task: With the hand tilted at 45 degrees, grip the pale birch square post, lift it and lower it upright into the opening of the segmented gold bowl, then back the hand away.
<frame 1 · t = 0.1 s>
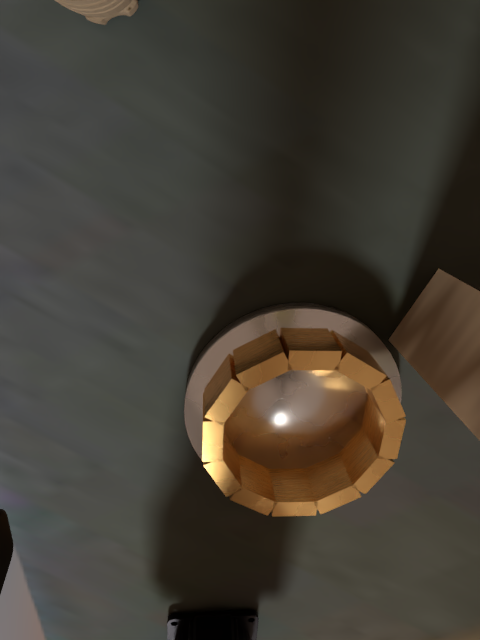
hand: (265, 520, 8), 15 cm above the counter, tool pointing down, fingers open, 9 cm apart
segmented gold bowl: (290, 401, 24), on the counter
post: (445, 322, 23), on the counter
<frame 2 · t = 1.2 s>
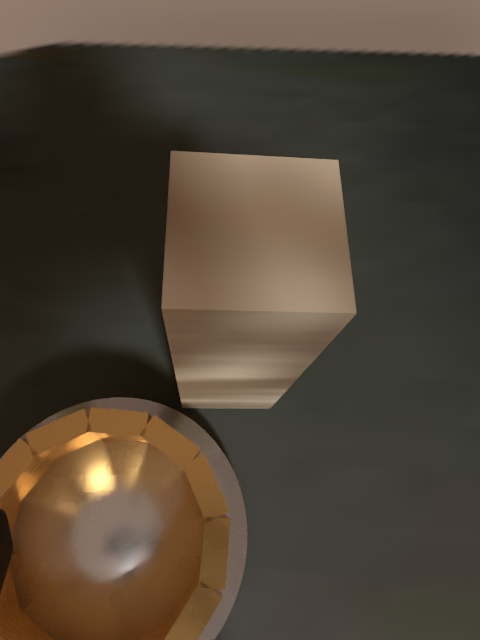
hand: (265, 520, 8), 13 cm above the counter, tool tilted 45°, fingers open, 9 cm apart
segmented gold bowl: (113, 533, 19), on the counter
post: (226, 365, 23), on the counter
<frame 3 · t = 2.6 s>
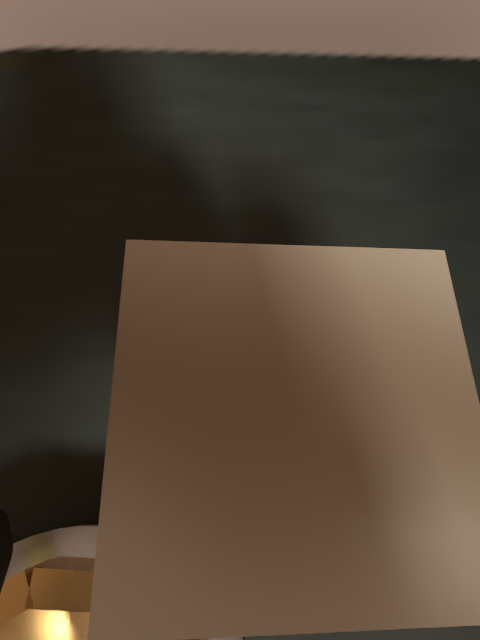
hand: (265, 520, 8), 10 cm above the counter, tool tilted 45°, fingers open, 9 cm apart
post: (229, 467, 17), on the counter
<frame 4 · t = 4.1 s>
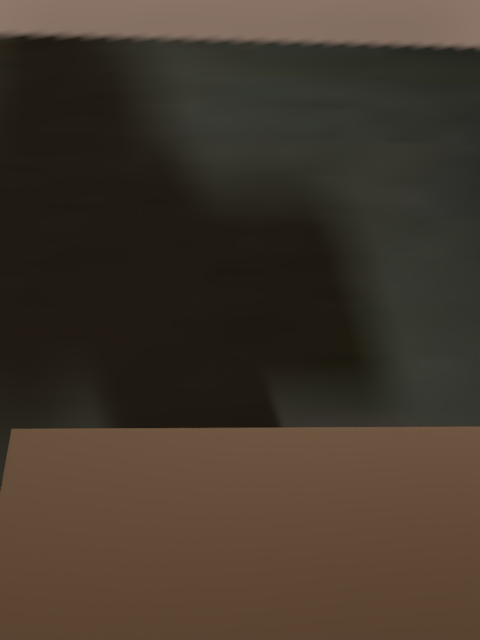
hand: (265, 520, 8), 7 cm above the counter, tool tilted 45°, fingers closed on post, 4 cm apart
post: (235, 553, 14), on the counter, touching gripper
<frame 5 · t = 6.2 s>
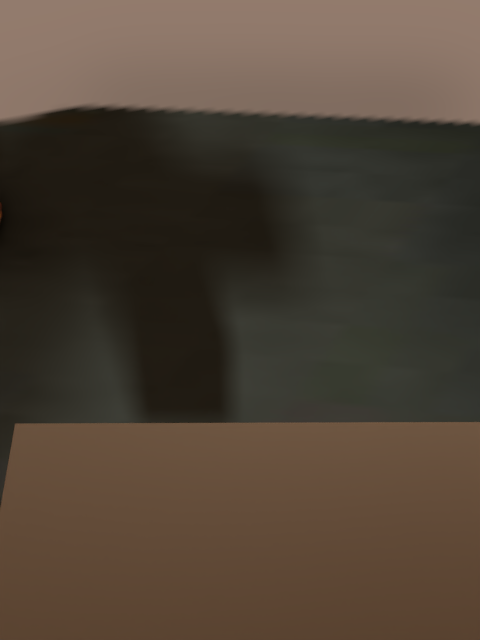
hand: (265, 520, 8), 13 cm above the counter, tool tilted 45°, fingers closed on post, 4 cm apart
post: (235, 552, 14), point 6 cm above the counter, touching gripper
when the fingers open (9 cm above the counter, at t = 8.6 s): post stays where it is, resting on segmented gold bowl.
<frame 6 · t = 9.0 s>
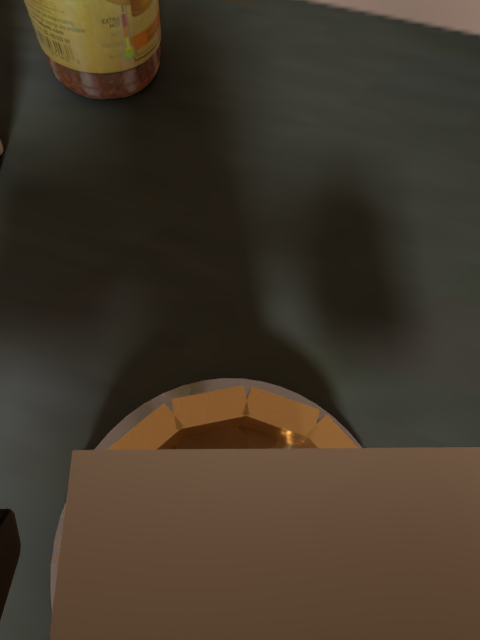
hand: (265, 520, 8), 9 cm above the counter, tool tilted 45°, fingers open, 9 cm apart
segmented gold bowl: (230, 545, 16), on the counter
post: (232, 549, 15), point 1 cm above the counter, touching segmented gold bowl
sauce bottle: (108, 67, 24), on the counter
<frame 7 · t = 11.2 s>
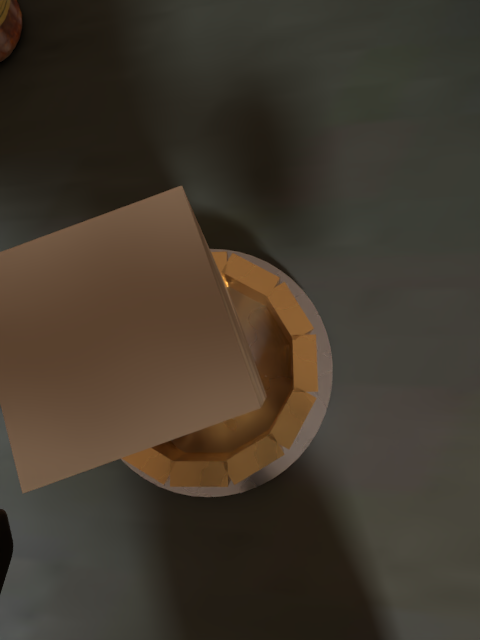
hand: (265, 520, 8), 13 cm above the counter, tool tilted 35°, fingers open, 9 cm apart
segmented gold bowl: (210, 368, 22), on the counter
post: (207, 367, 21), point 1 cm above the counter, touching segmented gold bowl
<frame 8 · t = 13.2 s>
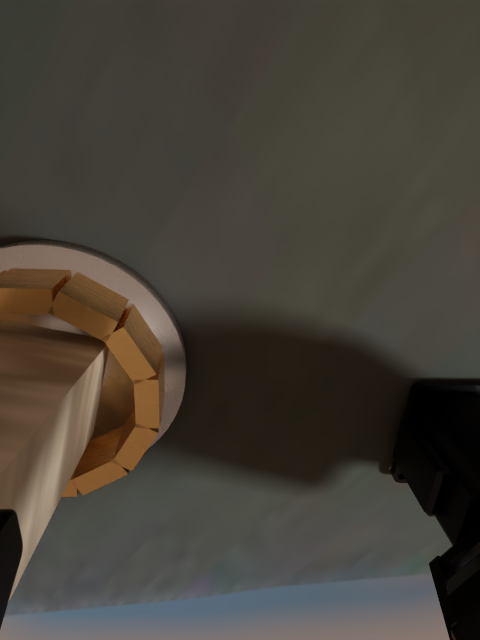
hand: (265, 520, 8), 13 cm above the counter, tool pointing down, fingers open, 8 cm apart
segmented gold bowl: (62, 362, 21), on the counter
post: (51, 378, 19), point 2 cm above the counter, tilted 14°, touching gripper, segmented gold bowl
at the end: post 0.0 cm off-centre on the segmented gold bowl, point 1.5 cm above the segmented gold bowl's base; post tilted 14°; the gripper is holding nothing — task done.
